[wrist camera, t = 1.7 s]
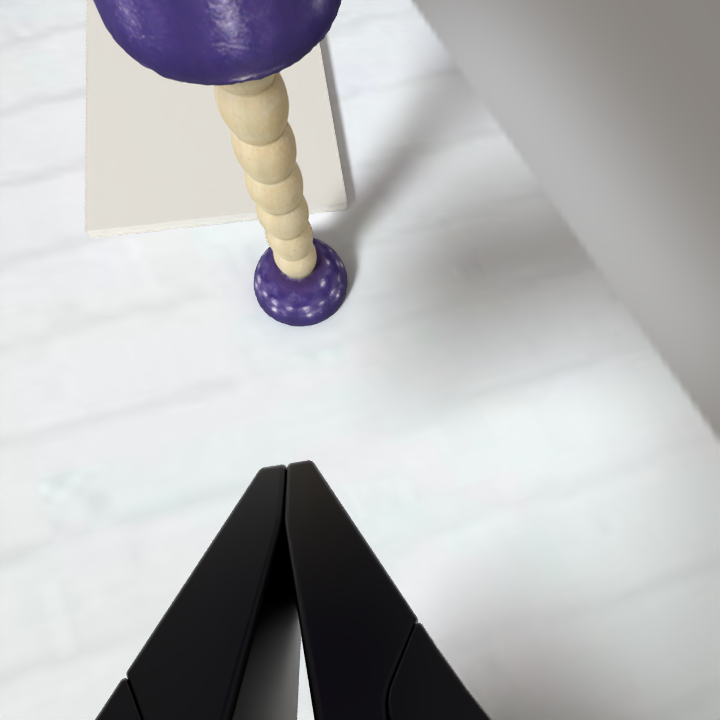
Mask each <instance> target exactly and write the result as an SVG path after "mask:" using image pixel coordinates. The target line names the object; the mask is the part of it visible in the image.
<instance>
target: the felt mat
mask: <svg viewBox="0 0 720 720" xmlns="http://www.w3.org/2000/svg"><path fill="white" fill-rule="evenodd" d="M280 74H281V76H282V78H283V81H284V83H285V86H286V89H287V93H288V99H289V115H288V120H287V121H288V122H289V124H290V126H291V128H292V131H293V133H294V136H295V141H296V149H297V155H296V162H297V164H298V166H299V168H300V170H301V173H302V177H303V195H304V197H305V199H306V201H307V205H308V210H309V214H312V213H320V212H329V211H338V210H347V198H346V193H345V187H344V181H343V175H342V170H341V164H340V158H339V152H338V147H337V141H336V135H335V129H334V124H333V118H332V112H331V106H330V101H329V95H328V89H327V83H326V78H325V72H324V66H323V60H322V55H321V49H320V43H318V44H317V45H316V46H315V47H313V49H312V50H311V52H310V53H308V54H307V55H305V56H304V57H303V58H302V59H301V60H300V61H299V62H296V63H294V64H293V65H292V66H290V67H288V68H285V69H283V70H282V71H280ZM250 220H259V219H258V217H257V213H256V207H255V202H254V201H253V200H252V198H251V197H250V195H249V193H248V190H247V188H246V184H245V178H244V169H243V168H242V167H241V165H240V164H239V162H238V160H237V158H236V156H235V153H234V150H233V146H232V141H231V130H230V129H229V127H228V126H227V125H226V123H225V122H224V120H223V119H222V117H221V114H220V112H219V110H218V107H217V103H216V100H215V95H214V85H209V86H207V85H200V84H191V83H186V82H179V81H175V80H171V79H167V78H164V77H162V76H160V75H159V74H157V73H156V72H154V71H153V70H151V69H148V68H145V67H144V66H142V65H141V64H139V63H138V62H137V61H135V60H134V59H133V58H132V57H131V56H129V55H128V54H127V53H126V52H125V51H124V50H123V49H122V48H121V47H120V46H119V45H118V44H117V43H116V42H115V40H114V39H113V38H112V36H111V34H110V33H109V32H108V30H107V29H106V27H105V25H104V23H103V21H102V19H101V17H100V14H99V12H98V10H97V8H96V6H95V3H94V1H93V0H87V31H86V169H85V232H86V233H87V234H88V235H89V236H90V237H91V238H92V239H93V238H102V237H110V236H119V235H128V234H137V233H145V232H154V231H163V230H172V229H180V228H189V227H198V226H207V225H215V224H224V223H233V222H242V221H250Z"/></svg>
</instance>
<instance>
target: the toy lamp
mask: <svg viewBox="0 0 720 720" xmlns="http://www.w3.org/2000/svg"><path fill="white" fill-rule="evenodd" d="M93 1H94V3H95V6H96V8H97V10H98V12H99V14H100V17H101V19H102V21H103V23H104V25H105V27H106V29H107V30H108V32H109V33H110V34H111V36H112V38H113V39H114V40H115V42H116V43H117V44H118V45H119V46H120V47H121V48H122V49H123V50H124V51H125V52H126V53H127V54H128V55H129V56H131V57H132V58H133V59H134V60H135V61H137V62H138V63H139V64H141V65H142V66H144V67H145V68H148V69H151V70H153V71H154V72H156V73H157V74H159V75H160V76H162V77H164V78H167V79H171V80H175V81H179V82H186V83H191V84H200V85H207V86H209V85H214V95H215V100H216V103H217V107H218V110H219V112H220V114H221V117H222V119H223V120H224V122H225V123H226V125H227V126H228V127H229V129H230V130H231V141H232V146H233V150H234V153H235V156H236V158H237V160H238V162H239V164H240V165H241V167H242V168H243V169H244V178H245V184H246V188H247V190H248V193H249V195H250V197H251V198H252V200H253V201H254V202H255V207H256V213H257V217H258V219H259V221H260V224H261V225H262V226H263V228H264V229H265V234H266V239H267V242H268V244H269V246H270V247H269V248H268V249H267V250H266V251H265V252H264V254H263V255H262V256H261V258H260V260H259V262H258V264H257V267H256V270H255V275H254V290H255V295H256V297H257V300H258V302H259V304H260V306H261V307H262V308H263V310H264V311H265V312H266V313H267V314H268V315H269V316H271V317H272V318H274V319H275V320H277V321H279V322H281V323H284V324H288V325H291V326H308V325H313V324H317V323H320V322H322V321H324V320H326V319H327V318H328V317H330V316H331V315H333V314H334V313H335V312H336V311H337V310H338V308H339V307H340V305H341V304H342V301H343V299H344V297H345V294H346V288H347V274H346V271H345V268H344V265H343V263H342V261H341V259H340V258H339V256H338V255H337V254H336V252H335V251H334V250H333V249H332V248H331V247H330V246H328V245H327V244H325V243H324V242H322V241H320V240H318V239H315V238H313V232H312V228H311V225H310V223H309V221H308V218H309V210H308V205H307V201H306V199H305V197H304V195H303V177H302V173H301V170H300V168H299V166H298V164H297V162H296V155H297V149H296V141H295V136H294V133H293V131H292V128H291V126H290V124H289V122H288V121H287V120H288V115H289V99H288V93H287V89H286V86H285V83H284V81H283V78H282V76H281V74H280V71H282V70H283V69H285V68H288V67H290V66H292V65H293V64H294V63H296V62H299V61H300V60H301V59H302V58H303V57H304V56H305V55H307V54H308V53H310V52H311V50H312V49H313V47H315V46H316V45H317V44H318V43H319V42H320V41H321V40H322V39H323V38H324V37H325V35H326V33H327V32H328V31H329V30H330V28H331V25H332V23H333V21H334V19H335V18H336V16H337V13H338V10H339V7H340V5H341V0H93Z"/></svg>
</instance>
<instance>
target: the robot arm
mask: <svg viewBox="0 0 720 720" xmlns="http://www.w3.org/2000/svg"><path fill="white" fill-rule="evenodd" d="M301 637H302V643H303V649H304V656H305V662H306V668H307V675H308V681H309V687H310V694H311V700H312V707H313V713H314V719H315V720H491V718H490V717H489V716H488V715H487V713H486V712H485V711H484V710H483V708H482V707H481V706H480V705H479V703H478V702H477V701H476V700H475V698H474V697H473V696H472V695H471V693H470V692H469V691H468V690H467V688H466V687H465V685H464V684H463V683H462V681H461V680H460V678H459V677H458V676H457V674H456V673H455V671H454V670H453V669H452V667H451V666H450V664H449V663H448V662H447V660H446V659H445V657H444V656H443V655H442V653H441V652H440V650H439V649H438V648H437V646H436V645H435V643H434V642H433V640H432V639H431V637H430V636H429V634H428V633H427V631H426V630H425V628H424V627H423V625H422V624H421V623H418V619H417V617H416V615H415V614H414V612H413V611H412V609H411V608H410V606H409V605H408V603H407V602H406V600H405V599H404V597H403V596H402V594H401V593H400V591H399V590H398V588H397V587H396V585H395V584H394V582H393V581H392V579H391V578H390V576H389V575H388V573H387V572H386V570H385V569H384V567H383V566H382V564H381V563H380V561H379V560H378V558H377V557H376V555H375V554H374V552H373V551H372V549H371V548H370V546H369V545H368V543H367V542H366V540H365V539H364V537H363V536H362V534H361V533H360V531H359V530H358V528H357V527H356V525H355V524H354V522H353V521H352V519H351V518H350V516H349V515H348V513H347V512H346V510H345V509H344V507H343V506H342V504H341V503H340V501H339V500H338V498H337V497H336V495H335V494H334V492H333V491H332V489H331V488H330V486H329V485H328V483H327V482H326V480H325V479H324V477H323V476H322V474H321V473H320V471H319V470H318V468H317V467H316V465H315V464H314V463H313V462H312V461H310V460H308V461H302V462H295V463H290V464H289V465H288V467H286V466H285V465H276V466H270V467H264V468H262V469H260V470H259V471H258V473H257V474H256V476H255V477H254V479H253V481H252V482H251V484H250V485H249V487H248V488H247V490H246V491H245V493H244V494H243V496H242V497H241V499H240V500H239V502H238V503H237V505H236V506H235V508H234V509H233V511H232V513H231V514H230V516H229V517H228V519H227V520H226V522H225V523H224V525H223V526H222V528H221V529H220V531H219V532H218V534H217V535H216V537H215V538H214V540H213V541H212V543H211V545H210V546H209V548H208V549H207V551H206V552H205V554H204V555H203V557H202V558H201V560H200V561H199V563H198V564H197V566H196V567H195V569H194V570H193V572H192V573H191V575H190V577H189V578H188V580H187V581H186V583H185V584H184V586H183V587H182V589H181V590H180V592H179V593H178V595H177V596H176V598H175V599H174V601H173V602H172V604H171V605H170V607H169V609H168V610H167V612H166V613H165V615H164V616H163V618H162V619H161V621H160V622H159V624H158V625H157V627H156V628H155V630H154V631H153V633H152V634H151V636H150V637H149V639H148V641H147V642H146V644H145V645H144V647H143V648H142V650H141V651H140V653H139V654H138V656H137V657H136V659H135V660H134V662H133V663H132V665H131V666H130V668H129V669H128V671H127V678H128V679H127V678H124V679H122V680H121V681H120V683H119V684H118V686H117V687H116V689H115V690H114V692H113V693H112V695H111V696H110V698H109V699H108V701H107V702H106V704H105V706H104V707H103V709H102V710H101V712H100V713H99V715H98V716H97V718H96V719H95V720H297V707H298V686H299V665H300V644H301Z"/></svg>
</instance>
